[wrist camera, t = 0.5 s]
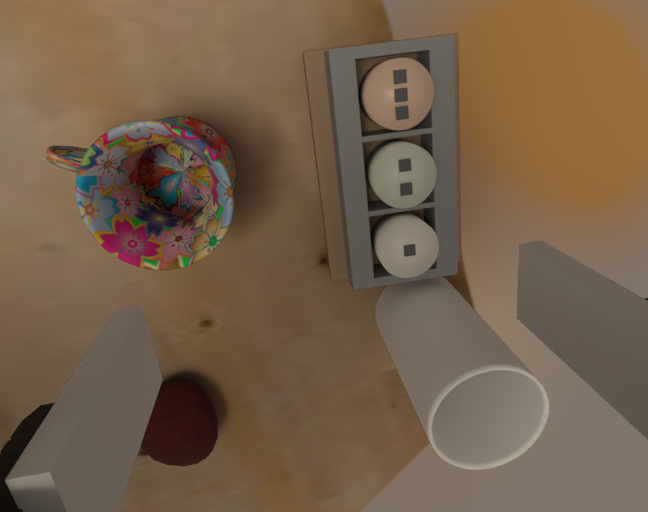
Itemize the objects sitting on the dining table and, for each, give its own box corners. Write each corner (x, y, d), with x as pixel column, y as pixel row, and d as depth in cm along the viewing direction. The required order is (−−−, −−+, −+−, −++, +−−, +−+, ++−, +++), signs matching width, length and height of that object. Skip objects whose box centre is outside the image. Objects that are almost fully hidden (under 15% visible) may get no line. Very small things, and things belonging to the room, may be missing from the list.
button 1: (373, 267, 40) (382, 283, 37) (368, 214, 39) (377, 225, 36) (427, 259, 41) (440, 273, 38) (424, 206, 39) (438, 216, 36)
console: (329, 276, 43) (336, 295, 39) (302, 52, 36) (306, 49, 32) (456, 256, 44) (474, 273, 40) (452, 34, 37) (474, 28, 33)
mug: (256, 135, 38) (253, 154, 28) (222, 238, 41) (208, 288, 31) (104, 78, 35) (41, 77, 26) (78, 192, 38) (12, 231, 28)
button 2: (367, 202, 38) (376, 213, 35) (362, 143, 37) (371, 149, 34) (424, 194, 39) (438, 204, 36) (422, 135, 37) (436, 140, 34)
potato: (147, 438, 47) (131, 486, 42) (138, 368, 44) (120, 409, 39) (222, 434, 48) (216, 480, 42) (218, 364, 45) (211, 405, 40)
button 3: (361, 130, 36) (370, 134, 33) (355, 63, 35) (364, 62, 32) (421, 122, 37) (435, 126, 34) (418, 56, 35) (433, 53, 32)
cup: (358, 323, 45) (403, 441, 30) (408, 255, 43) (483, 345, 28) (422, 359, 48) (494, 486, 33) (474, 296, 46) (574, 400, 31)
